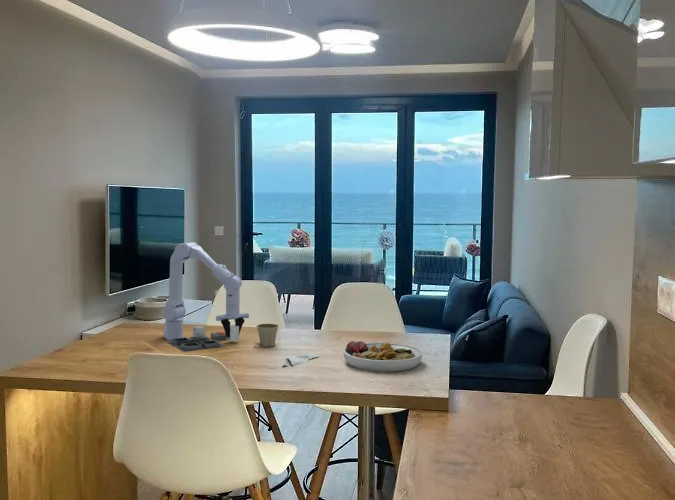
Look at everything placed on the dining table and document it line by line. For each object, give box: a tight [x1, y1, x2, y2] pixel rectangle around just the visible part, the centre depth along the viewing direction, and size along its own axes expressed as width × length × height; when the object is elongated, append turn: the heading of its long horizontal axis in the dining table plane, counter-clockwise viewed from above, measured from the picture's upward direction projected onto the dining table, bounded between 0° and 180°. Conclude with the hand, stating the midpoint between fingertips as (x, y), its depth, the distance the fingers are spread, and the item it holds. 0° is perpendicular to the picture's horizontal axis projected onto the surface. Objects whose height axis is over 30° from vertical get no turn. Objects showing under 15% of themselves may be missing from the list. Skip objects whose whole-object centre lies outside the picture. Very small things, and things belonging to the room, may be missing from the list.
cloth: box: [281, 353, 320, 368], centre depth 244 cm, size 26×14×2 cm, turn 138°
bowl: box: [342, 340, 423, 373], centre depth 241 cm, size 30×30×8 cm
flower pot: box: [256, 323, 279, 348], centre depth 269 cm, size 9×9×9 cm
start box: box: [210, 332, 228, 342], centre depth 278 cm, size 8×8×3 cm
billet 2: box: [226, 324, 240, 342], centre depth 269 cm, size 4×4×6 cm
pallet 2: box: [175, 339, 226, 353], centre depth 260 cm, size 10×18×2 cm, turn 125°
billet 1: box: [192, 325, 206, 339], centre depth 271 cm, size 4×4×6 cm
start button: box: [218, 330, 226, 335], centre depth 278 cm, size 4×4×2 cm
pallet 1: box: [165, 335, 211, 348], centre depth 269 cm, size 10×18×2 cm, turn 125°
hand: (232, 336), depth 269 cm, fingers closed on billet 2, 4 cm apart
